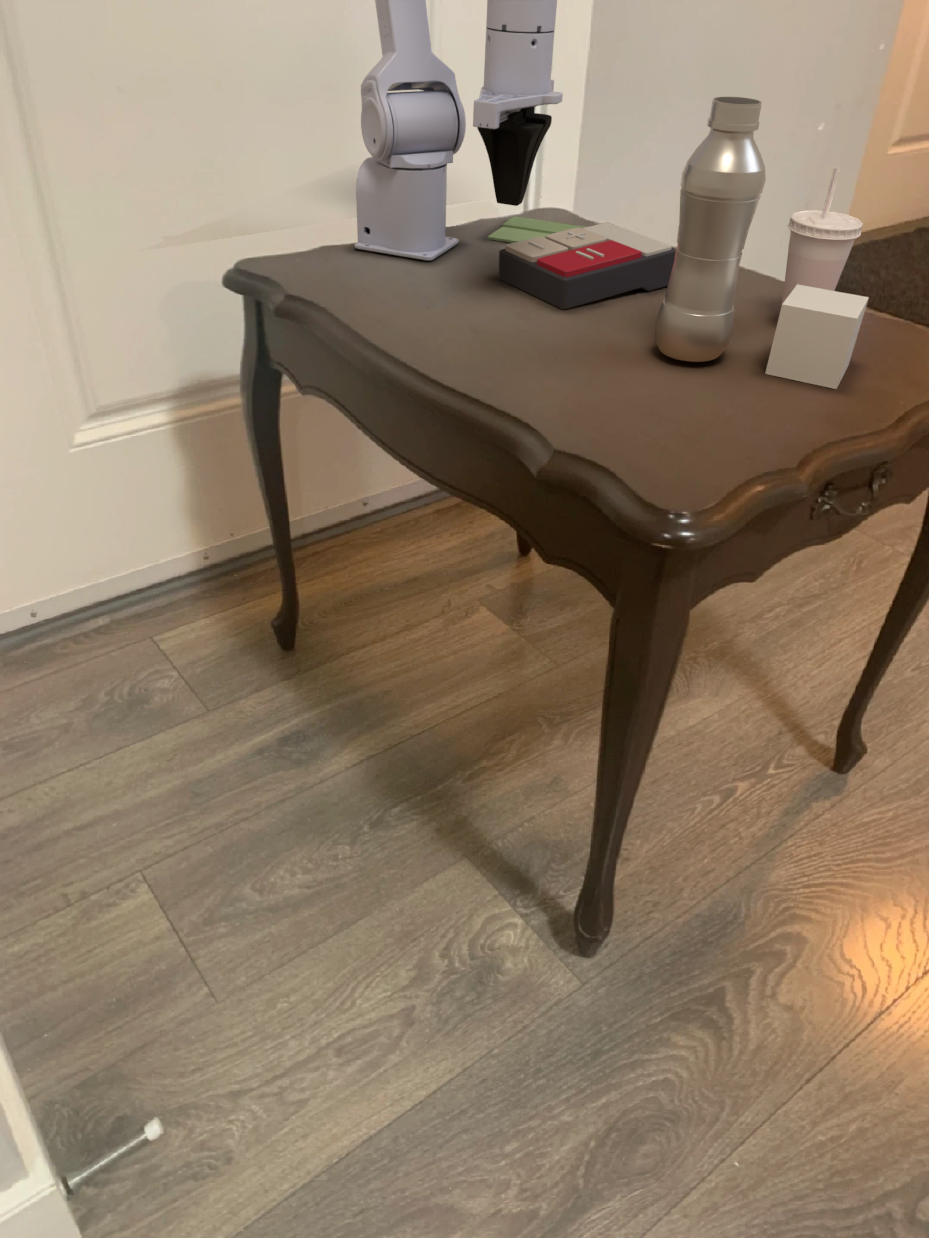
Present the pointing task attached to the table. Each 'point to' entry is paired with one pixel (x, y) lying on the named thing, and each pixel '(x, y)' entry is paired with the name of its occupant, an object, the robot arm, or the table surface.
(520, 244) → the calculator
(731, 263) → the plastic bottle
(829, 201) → the smoothie
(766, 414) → the table surface
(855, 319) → the off-white cube
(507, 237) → the cloth
